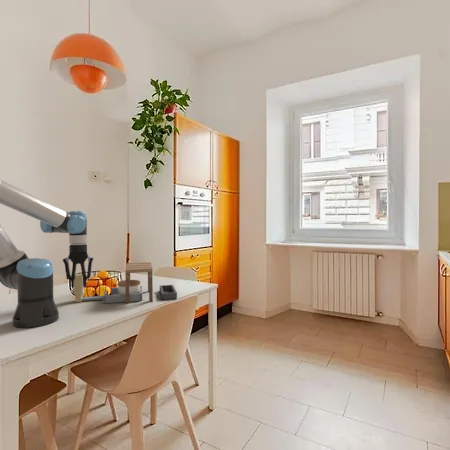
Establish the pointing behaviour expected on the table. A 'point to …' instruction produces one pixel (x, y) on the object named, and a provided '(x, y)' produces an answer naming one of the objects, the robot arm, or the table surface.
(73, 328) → the table surface
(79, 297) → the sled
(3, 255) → the robot arm
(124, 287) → the lidded jar
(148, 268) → the tunnel
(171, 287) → the box
